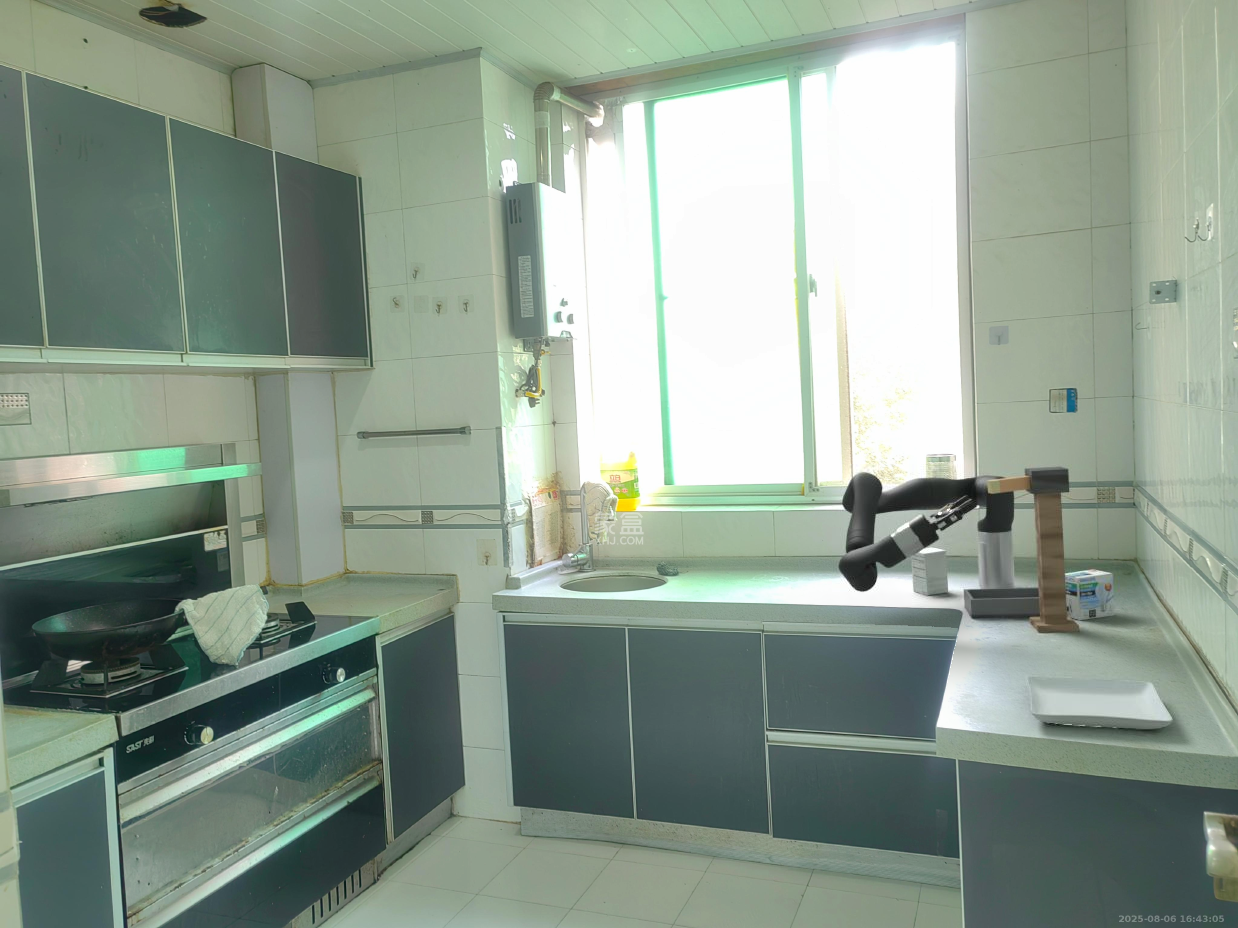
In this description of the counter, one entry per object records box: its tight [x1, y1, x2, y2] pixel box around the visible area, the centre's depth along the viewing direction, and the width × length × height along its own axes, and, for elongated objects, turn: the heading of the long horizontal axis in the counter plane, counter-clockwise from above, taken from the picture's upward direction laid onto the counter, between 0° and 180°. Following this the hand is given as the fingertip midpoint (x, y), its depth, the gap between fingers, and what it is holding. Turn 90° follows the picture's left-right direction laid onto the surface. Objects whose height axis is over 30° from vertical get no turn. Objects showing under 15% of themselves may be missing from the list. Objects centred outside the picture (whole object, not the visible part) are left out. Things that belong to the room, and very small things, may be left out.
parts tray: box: [963, 586, 1040, 620], centre depth 235 cm, size 13×20×5 cm, turn 77°
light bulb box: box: [1065, 569, 1115, 621], centre depth 225 cm, size 11×7×11 cm, turn 105°
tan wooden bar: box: [987, 475, 1030, 494], centre depth 216 cm, size 3×14×3 cm, turn 83°
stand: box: [1024, 466, 1080, 633], centre depth 216 cm, size 9×9×38 cm
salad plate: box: [1025, 675, 1173, 730], centre depth 160 cm, size 21×21×3 cm
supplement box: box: [910, 547, 949, 596], centre depth 265 cm, size 7×7×13 cm
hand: (972, 500), depth 219 cm, fingers open, 8 cm apart
